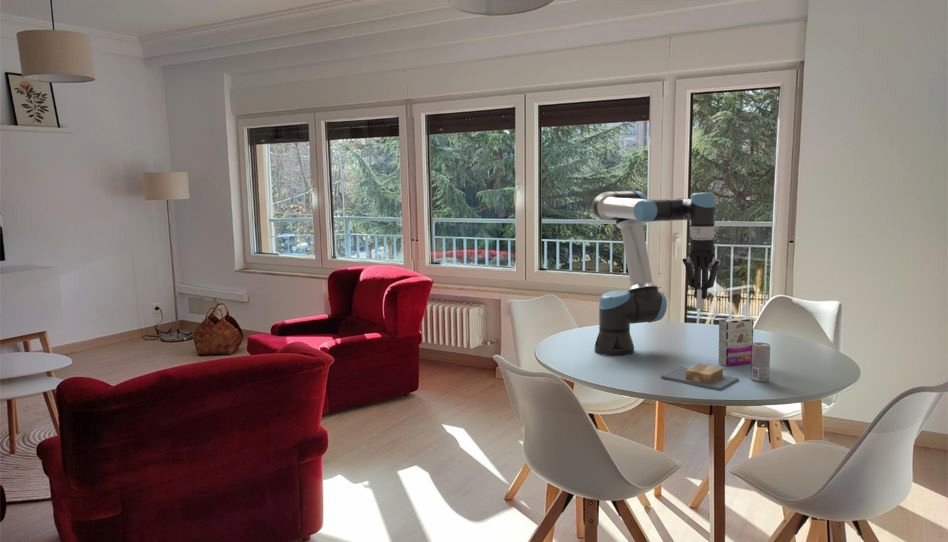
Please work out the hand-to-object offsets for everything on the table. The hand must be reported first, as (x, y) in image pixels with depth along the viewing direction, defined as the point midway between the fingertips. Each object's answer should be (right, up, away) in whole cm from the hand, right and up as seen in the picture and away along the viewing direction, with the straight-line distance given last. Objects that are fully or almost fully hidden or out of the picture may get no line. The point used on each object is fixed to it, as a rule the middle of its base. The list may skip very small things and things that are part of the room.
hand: (700, 307), depth 213 cm
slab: (-4, -21, -4) cm, 22 cm away
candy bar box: (+17, -21, +12) cm, 29 cm away
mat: (-2, -23, -6) cm, 24 cm away
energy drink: (+17, -23, -8) cm, 30 cm away
